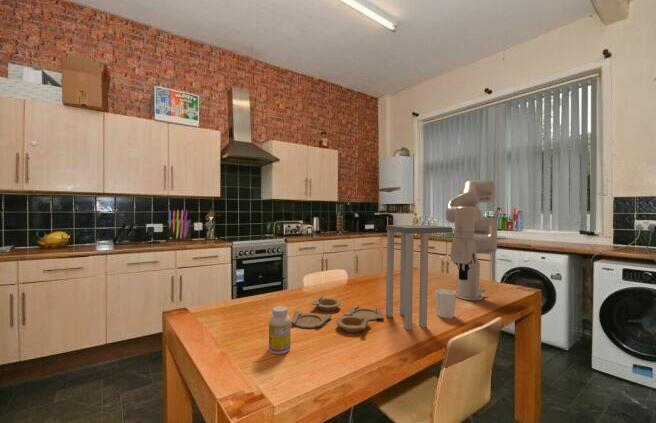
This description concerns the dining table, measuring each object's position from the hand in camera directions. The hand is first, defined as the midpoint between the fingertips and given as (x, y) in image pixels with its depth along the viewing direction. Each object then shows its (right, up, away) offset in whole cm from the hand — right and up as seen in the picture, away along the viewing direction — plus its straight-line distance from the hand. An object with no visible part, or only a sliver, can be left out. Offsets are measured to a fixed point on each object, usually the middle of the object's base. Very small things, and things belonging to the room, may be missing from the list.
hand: (463, 279), depth 125 cm
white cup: (-8, -15, -2) cm, 17 cm away
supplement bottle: (-72, -14, -33) cm, 80 cm away
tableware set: (-53, -15, -6) cm, 55 cm away
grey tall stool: (-22, -14, -7) cm, 27 cm away
